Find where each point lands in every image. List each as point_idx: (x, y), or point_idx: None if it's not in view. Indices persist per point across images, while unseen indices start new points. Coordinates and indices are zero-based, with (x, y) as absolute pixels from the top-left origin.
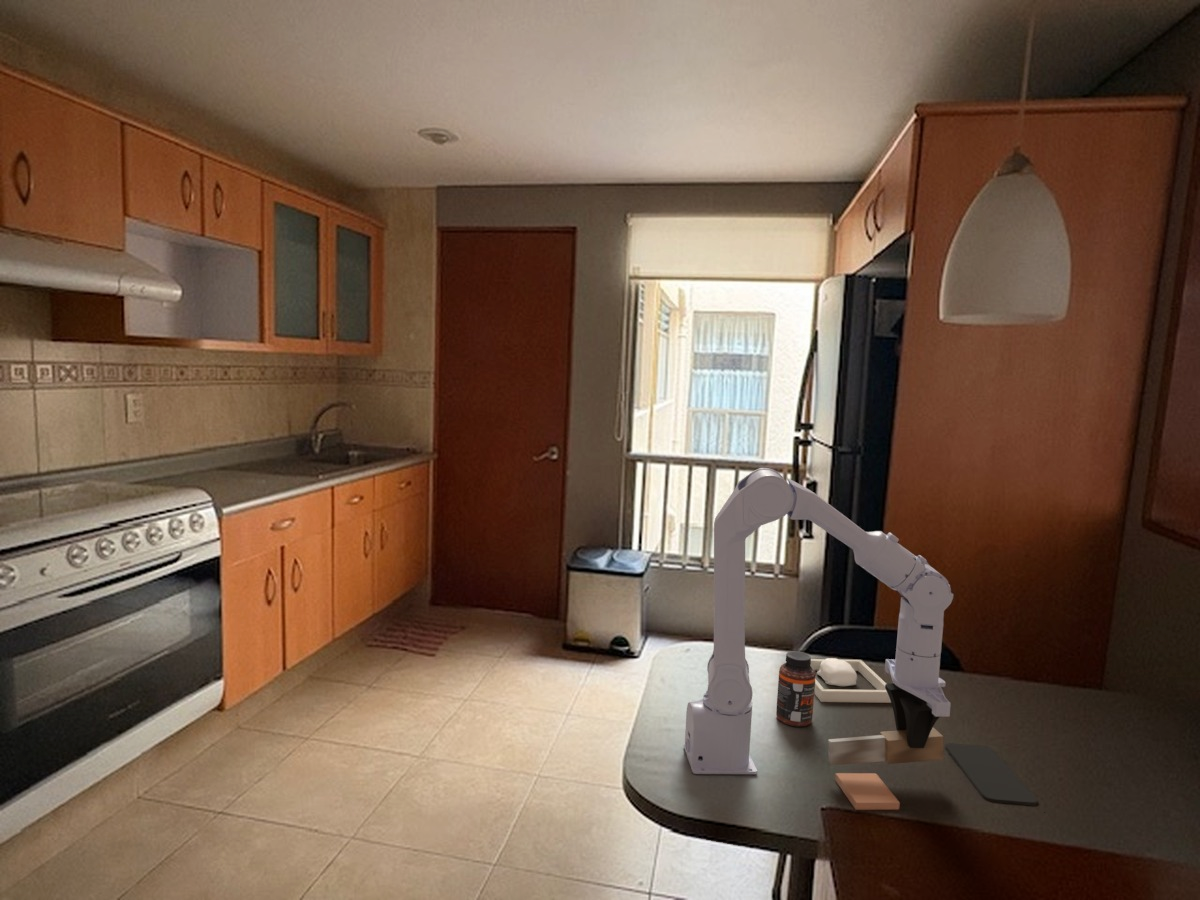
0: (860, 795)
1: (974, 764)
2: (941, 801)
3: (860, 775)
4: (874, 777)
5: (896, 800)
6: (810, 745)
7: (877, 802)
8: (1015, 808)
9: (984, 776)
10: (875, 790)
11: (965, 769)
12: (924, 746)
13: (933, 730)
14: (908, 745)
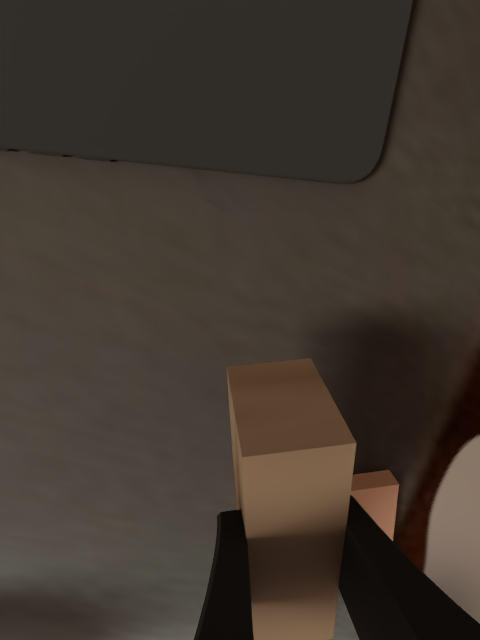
0: None
1: (110, 76)
2: (362, 345)
3: None
4: None
5: (389, 489)
6: (68, 607)
7: (392, 532)
8: (424, 82)
9: (218, 89)
10: None
11: (166, 155)
12: (353, 498)
13: (279, 468)
14: None
